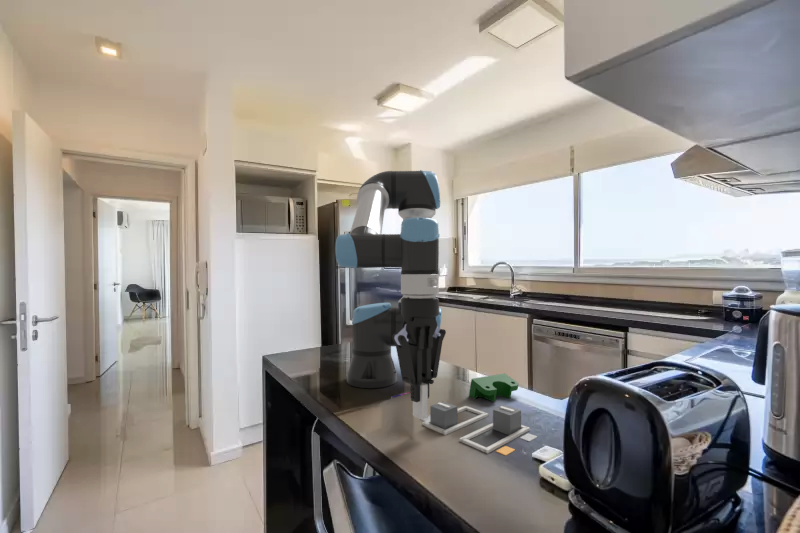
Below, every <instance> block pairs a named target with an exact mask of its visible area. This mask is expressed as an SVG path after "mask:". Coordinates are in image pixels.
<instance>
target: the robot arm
mask: <svg viewBox="0 0 800 533" xmlns="http://www.w3.org/2000/svg"><path fill="white" fill-rule="evenodd" d="M439 185H440V184H439V180H438V176H437V173H435V172H434V171H431V170H421V169H420V170H386V171H382V172H379V173H376V174H374V175H372V176H371V177H369V178H368V179H367V180H365V181H364V182H363V183H362V184H361V186H360V187H359V189H358V192H357V197H356V203H357V208H356V211H355V215H354V218H353V222H352V225H351V228H350V231H349V233H344V234H340V235H338V236H337V237H336V240H335V248H334V249H335V261H336V263H337V265H339V267H341V268H353V269H357V268H358V269H359V268H360V269H361V268H363V269H365V268H366V269H367V268H373V269H374V268H387V269H388V268H389V269H390V268H391V269H392V268H395V269H396V268H398V269H399V268H400V269H401V271H400V273H401V274H400V294H401V295H402V297H401V298H400V299H399V300H398V301H397V302H398V303H397V304H398V305H397V307H392V304H391V302H378V303H371V304H365V305H360V306H358V307H356V308H354V309H353V311H352V322H351V324H352V357H351V361H350V363H349V367H348V371H347V372H346V383H347V384H348V385H349V386H352V387H355V388H362V389H378V388H386V387H390V386H392V385H394V384H396V383H397V381H398V373H397V372H398V371H397V370H396V366H395V364H394V360H393V358H392V347H395V349H396V356H397V360H398V365H399V370H400V375H401V380H402V382H404V383H408V384H410V392H411V393H410V400H411V401H412V417H415V418H417V419H419V420H420V419H422V420H421V421H423V419H426V418H428V415H429V412H428V411H429V409H428V407H429V405H428V404H429V402H428V401H429V399H430V385H433V384H434V383H435V380H434V379H437V377H438V374H439V368H440V366H439V365H440V360H441V354H442V346H443V341H444V339H445V336H446V333H447V331H446V329H443V328H442V329H441V326H442V325H441V324H442V323H441V322H442V308H441V307H440V298H438V297H436V296H438V295H439V293H440V292H439V290H440V289H439V288H440V287H439V284H440V283H439V277H440V276H439V275H440V274H439V257H440V256H439V255H440V252H439V248H440V247H439V242H440V241H439V240H440V239H439V238H440V233H439V230H440V229H439V222H438V220H437V219H436V218H433V217H435V215H436V210H438V209H440V207H441V197H440V196H441V191H440V186H439ZM386 209H393V210H397V213H398V216H400V218H402V221H401V224H400V234H399V233H398V234H397V233H395V234H393V233H392V234H391V233H388V234H386V233H384V234H383V233H382V231H383V226H384V225H383V224H384V217H385V210H386Z"/></svg>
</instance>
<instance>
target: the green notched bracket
mask: <svg viewBox="0 0 800 533" xmlns="http://www.w3.org/2000/svg"><path fill="white" fill-rule="evenodd" d="M518 388H519V382H518V381H516V380H515V379H513V377H511V376H509V375H508V374H507V373H499V374H493V375H487V376H486V375H485V376H480V377H476V378H474V377H473V378H471V380H470V387H469V393H468V396H469V397H471V398H472V399H477V397H479V398H485V399H486V400H488V401H491V402H496V399H497V397H499V396H500V397H505V398H507V399H511V396H512V393H513V392H514V391H517V390H518Z"/></svg>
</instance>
